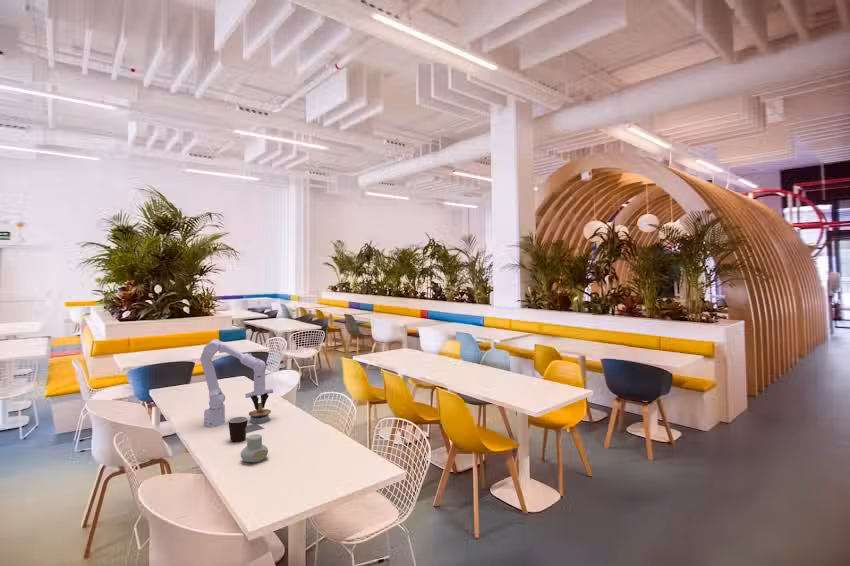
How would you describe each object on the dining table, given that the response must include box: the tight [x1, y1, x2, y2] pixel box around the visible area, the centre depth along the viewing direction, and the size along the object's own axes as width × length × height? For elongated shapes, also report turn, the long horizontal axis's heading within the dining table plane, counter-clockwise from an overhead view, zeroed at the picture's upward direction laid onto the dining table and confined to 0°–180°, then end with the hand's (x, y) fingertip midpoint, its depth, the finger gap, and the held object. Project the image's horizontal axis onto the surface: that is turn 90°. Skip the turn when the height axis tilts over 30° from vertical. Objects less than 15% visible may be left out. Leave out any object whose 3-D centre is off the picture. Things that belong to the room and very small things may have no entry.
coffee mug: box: [227, 416, 249, 443], centre depth 210 cm, size 12×9×10 cm
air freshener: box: [240, 433, 269, 464], centre depth 187 cm, size 11×8×10 cm
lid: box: [248, 402, 272, 417], centre depth 235 cm, size 11×11×5 cm
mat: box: [246, 423, 265, 434], centre depth 224 cm, size 10×10×1 cm
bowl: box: [249, 414, 270, 424], centre depth 236 cm, size 9×9×3 cm
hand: (259, 408), depth 236 cm, fingers closed on lid, 3 cm apart
